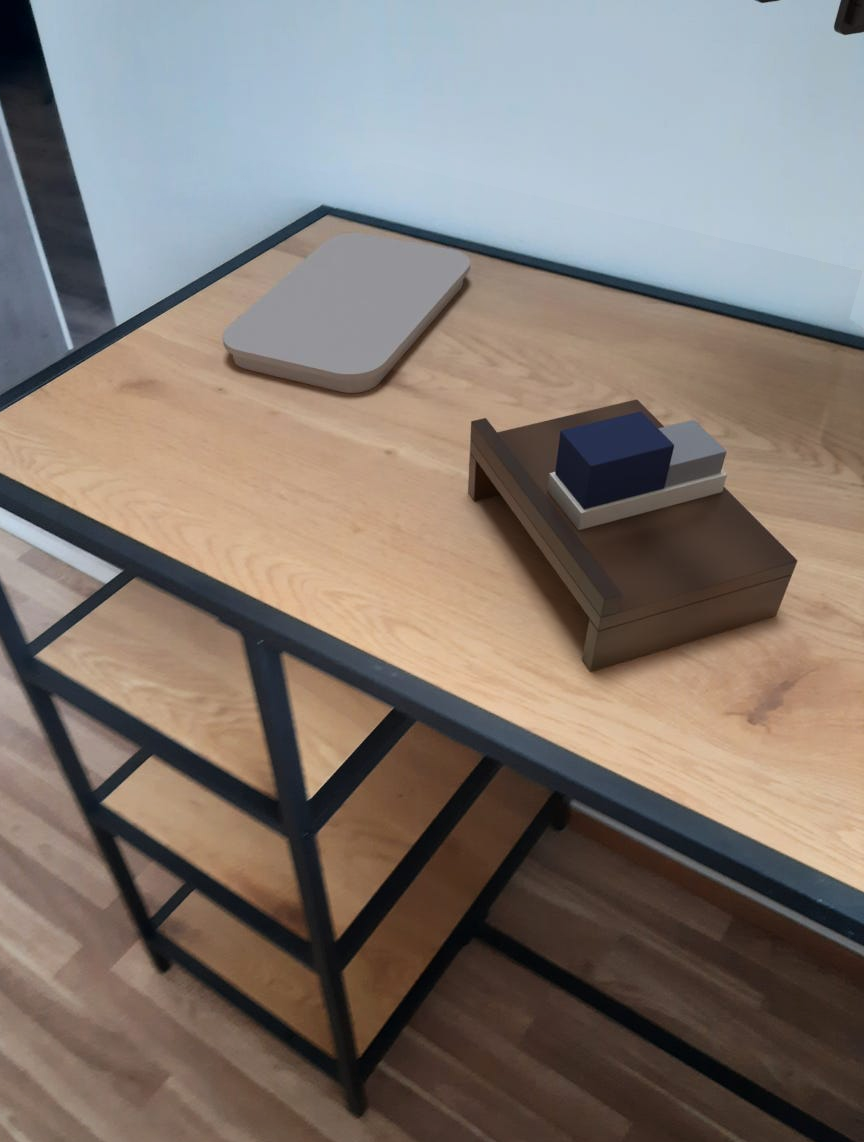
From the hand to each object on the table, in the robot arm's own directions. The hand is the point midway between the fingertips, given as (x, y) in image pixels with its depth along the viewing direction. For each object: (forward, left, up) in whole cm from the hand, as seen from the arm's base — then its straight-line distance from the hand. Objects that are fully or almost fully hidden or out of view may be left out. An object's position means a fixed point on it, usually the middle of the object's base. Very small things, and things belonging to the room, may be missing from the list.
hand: (806, 15), depth 61 cm
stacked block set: (+17, +15, -23) cm, 32 cm away
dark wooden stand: (+18, +15, -28) cm, 37 cm away
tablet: (+25, -25, -28) cm, 45 cm away
